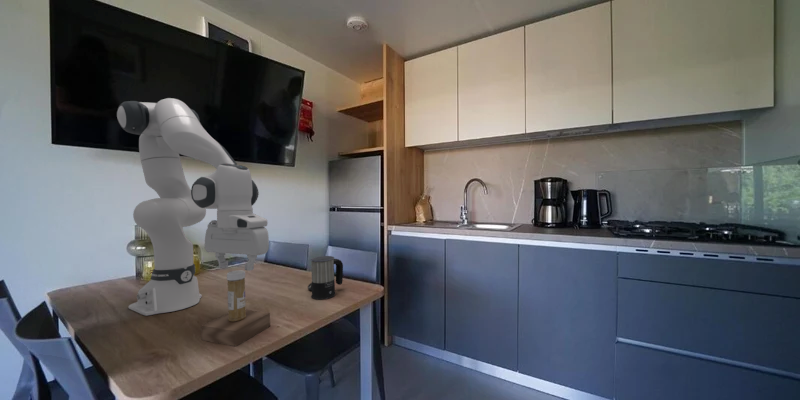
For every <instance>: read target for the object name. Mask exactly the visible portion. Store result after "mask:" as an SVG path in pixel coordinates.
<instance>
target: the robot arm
mask: <svg viewBox="0 0 800 400" xmlns="http://www.w3.org/2000/svg"><path fill="white" fill-rule="evenodd" d="M116 117H117V121H118V124H119V125H120V127H121V128H122V129H123V131H125V132H127V133H129V134H132V135H138V136H139V138H138V151H139V152H138V153H139V158H140V163H141V167H142V172H143V175H144V181H145V183H146V185H147V186H148V187H149V188H151V189H152V190H153V191H154V192H155V193H156V194H157V195H158V196H159V197H157V198H152V199H148V200H143V201H142V202H139V203H138V204H137V205H136V206H135V207H134V209H133V212H132V213H133V214H132V215H133V221H134V223H135V224H136V226H138V227H139V228H141V229H142V230H144V232H146V233H147V236H148V237H149V239H150V242H151V244H152V247H153V259H154V264H153V265H154V268H153V269H150V270H149V272H150V274H151V277H150V280H149V281H148V282H147V283H146V284H144V285H143V286H141V287H140V289H138V293H137V294H136V299H137V301H136V302H133V303H131V304H129V305H128V309H129V310H131V311H134V312H136V313H138V314H140V315H143V316H152V315H153V316H154V315H157V314H164V313H170V312H175V311H181V310H184V309H187V308H191V307H192V306H195V305H197V304H199V303H200V301H201V300H200V299H201V298H202V296H203V295H202V293H200V289H199V281H198V277H197V276H195V274H196V264H195V263H194V244H193V242H192V241H191V240H189V238H187V236H186V235H185V232H184V228H186V227H191V226H195V225H196V224H198V223H200V222H202V221H203V220H204V219H205V217H206V215H207V210H213V209H214V210H215V209H217V210H216V220H215V219H212V220H211V221H210V222H209V223H208V224H207V228H206V231H205V235H204V236H205V237H204V249H205V252H207V253H214V255H215V258H216V260H217V262H218V268H219V269H227V268H229V261H228V260H226V257H225V256H226V254H232V255H245V256H246V257H247V263H246V264H244V271H249V272H250V271H253V270H254V267H255V266H254V264H255V262H256V260H257V258H258V256H262V255H265V254H267V253H268V251H269V249H270V247H269V246H270V242H269V241H270V240H269V232H268V231H269V230H268V229H267V228H266V227H267V226H268V219H267V218H265V217H262V216H260V215H257V214H255V213H253V212H254V211H253V210H254V209H253V208H254V207H253V206H254V205H255V204H256V202H257V201H258V198H259V195H260V193H259V189H258V186H257V185H256V182H255V181H254V180H253V179H252V174H251V171H250V168H249V167H247V166H245V165H243V164H237V162H236V161H235V159H234V158H233V157H232V155H231V154H230V153H229V151H228V150H227V149H226V148H225V147H224V146H223V145H222V144H221V143H220V142H218V141H217V140H216V139H214V138H213V137H212V136H211V135H210V134H209V133H208V132H207V130H206V129H205V128H204V127H203V125H202V123H201V122H200V121H201V120H200V117H199V113H197V112H196V111H195V110H194V109H192V108H190V107H189V106H188V105H187V104H186V103H185V102H184V101H182V100H180V99H178V98H171V97H167V98H164V99H160V100H159V101H157V102H148V101H147V102H145V101H144V102H142V101H137V100H130V101H129V100H128V101H123V102H122V103H120V104H119V105H118V108H117V111H116ZM180 155H182V156H184V157H188V158H192V159H196V160H199V161H202V162H203V163H204V162H205V163H207V164H209V165H211V166H212V167H214V168H215V170H214V171H213V172H212V173H210V174H208V175H205V176H200V177H198V178H197V179H196V180H195V181H194V182H193V184H192V185H191V188H190V185H189V184H188V181H187V180H186V179H187V178H186V177H185V173H184V169H183V165H182V161H181V160H182V159H181V156H180Z"/></svg>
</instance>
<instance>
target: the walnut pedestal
mask: <svg viewBox="0 0 800 400" xmlns="http://www.w3.org/2000/svg"><path fill="white" fill-rule="evenodd" d="M245 311H246V317H245V318H244V319H242V320H239V321H233V322H232V321H229V320H228V318H229V312H228V313H225V314H223V315H221V316H219V317H217V318H215V319H212V320H209V321H208V322H206V323H204V324H201V325H200V326H201V330H200V331H201V334H200V335H201V341H205V342H211V343H216V344H219V345H220V344H222V345H226V346H232V347H237V346H239V345H241V344H242V343H244V342H246V341H248V340H249V339H251V338H253V337H254V336H256V335H258V334H260V333H261V332H263V331H264V330H267V329H268V328H269V327H271V312H266V311H258V310H250V309H245Z"/></svg>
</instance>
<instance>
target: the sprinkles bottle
mask: <svg viewBox="0 0 800 400" xmlns="http://www.w3.org/2000/svg"><path fill="white" fill-rule="evenodd" d="M226 280H227V310H228V313H229V318H228V320H229V321H232V322H233V321H239V320H242V319H244V318H245V317H246V311H245V310H246V283H245V282H246V270H241V269H239V270H238V269H237V270H232V271H229V272H227V273H226Z"/></svg>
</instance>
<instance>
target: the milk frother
mask: <svg viewBox="0 0 800 400" xmlns="http://www.w3.org/2000/svg"><path fill="white" fill-rule="evenodd" d="M309 260H310V262H311V265H310V266H311V282H310V283H309V284H308V286H307V290H309V291H311V296H310V297H311V299H314V300H327V299H330V298H333V297H335V296H336V290H335V289H336V285H335V284H337V285H339V286H340V285H342V284H343V276H344V264H343V261H342V260H341V259H339V258H335V257H334V256H332V255H321V256H315V257H312V258H310V259H309Z"/></svg>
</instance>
